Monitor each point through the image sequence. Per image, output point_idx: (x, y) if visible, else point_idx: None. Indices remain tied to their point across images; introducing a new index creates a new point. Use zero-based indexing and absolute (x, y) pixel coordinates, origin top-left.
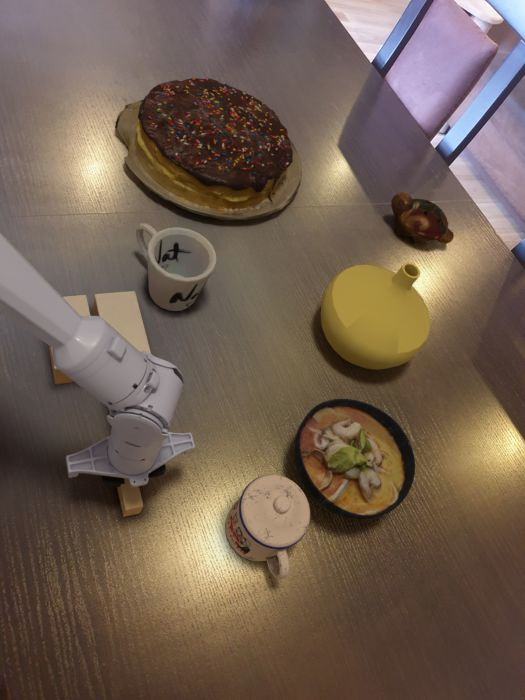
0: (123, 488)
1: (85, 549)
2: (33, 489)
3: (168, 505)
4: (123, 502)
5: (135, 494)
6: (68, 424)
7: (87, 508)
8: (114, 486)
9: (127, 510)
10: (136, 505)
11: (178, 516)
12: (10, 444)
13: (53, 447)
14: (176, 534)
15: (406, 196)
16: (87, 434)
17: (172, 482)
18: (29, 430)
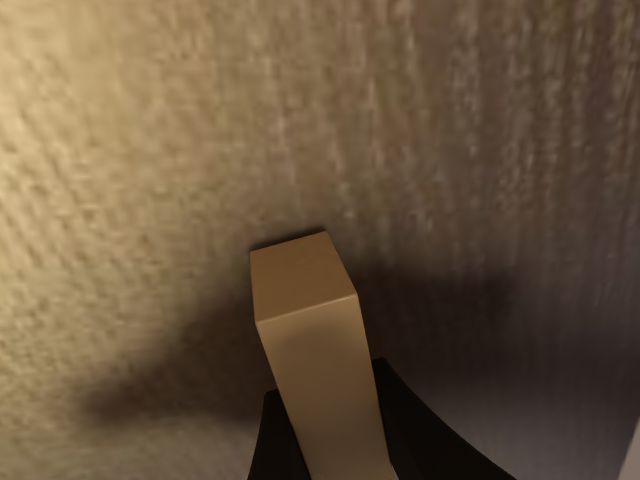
0: (365, 389)
1: (490, 84)
2: (614, 299)
3: (114, 290)
4: (361, 323)
5: (302, 371)
6: None
7: (460, 253)
8: (414, 397)
9: (340, 286)
10: (295, 322)
11: (47, 245)
12: (635, 402)
13: (532, 414)
14: (35, 154)
15: None
16: None
17: (115, 378)
18: (582, 440)
